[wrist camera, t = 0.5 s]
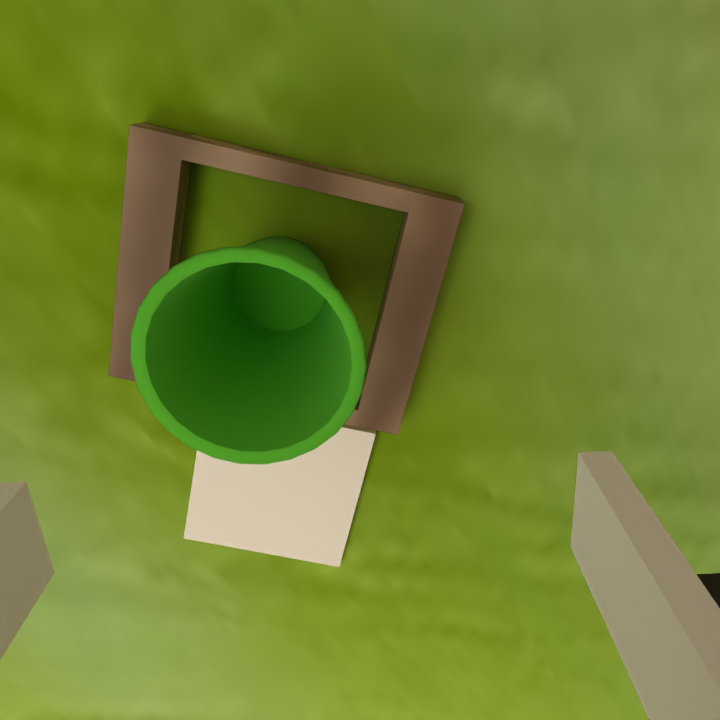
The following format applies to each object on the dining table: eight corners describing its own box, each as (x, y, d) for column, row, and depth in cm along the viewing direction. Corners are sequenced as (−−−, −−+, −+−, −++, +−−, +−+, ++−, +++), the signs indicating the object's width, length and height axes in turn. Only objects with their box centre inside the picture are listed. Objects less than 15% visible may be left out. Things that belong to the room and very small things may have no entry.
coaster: (186, 532, 41) (183, 538, 41) (207, 394, 37) (204, 399, 37) (339, 560, 42) (339, 566, 41) (375, 429, 38) (375, 434, 38)
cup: (393, 319, 35) (405, 413, 25) (250, 385, 37) (208, 498, 27) (316, 166, 32) (295, 204, 22) (164, 246, 34) (79, 314, 24)
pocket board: (121, 361, 37) (108, 375, 35) (143, 122, 32) (129, 124, 30) (396, 417, 38) (397, 434, 36) (458, 197, 33) (464, 204, 31)
